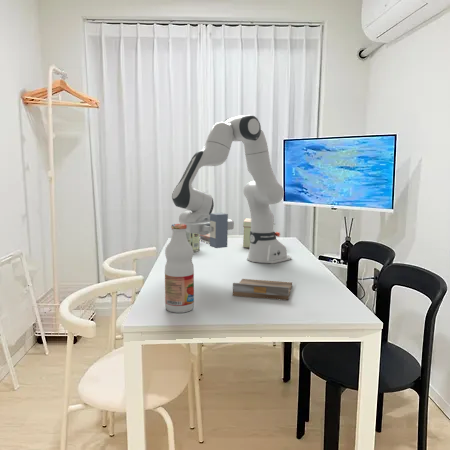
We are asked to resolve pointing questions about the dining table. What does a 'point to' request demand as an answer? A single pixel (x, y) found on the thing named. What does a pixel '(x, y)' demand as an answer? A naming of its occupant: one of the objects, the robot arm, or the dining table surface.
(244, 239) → the gift box
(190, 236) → the coffee can
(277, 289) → the shelf board
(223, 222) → the carton
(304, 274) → the dining table surface
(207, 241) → the packaged product
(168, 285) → the fruit juice
